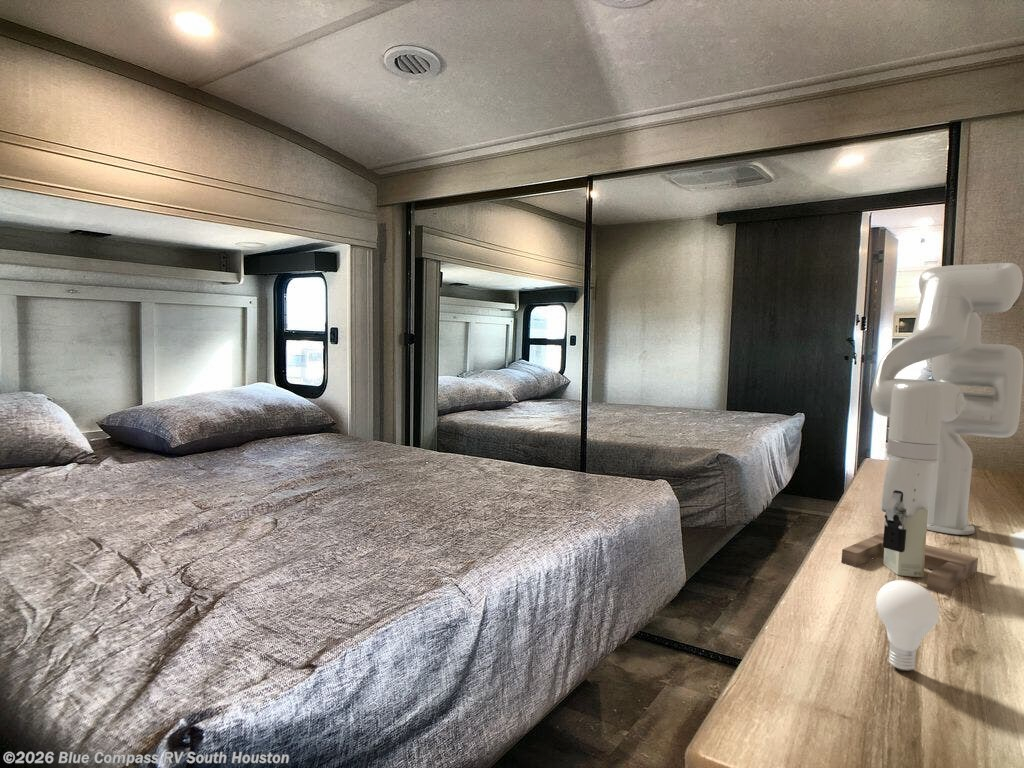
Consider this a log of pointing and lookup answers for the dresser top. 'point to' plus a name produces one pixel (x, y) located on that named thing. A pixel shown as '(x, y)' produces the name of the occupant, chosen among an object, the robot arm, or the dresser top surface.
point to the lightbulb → (905, 619)
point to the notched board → (944, 563)
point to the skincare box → (910, 548)
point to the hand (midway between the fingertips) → (903, 544)
